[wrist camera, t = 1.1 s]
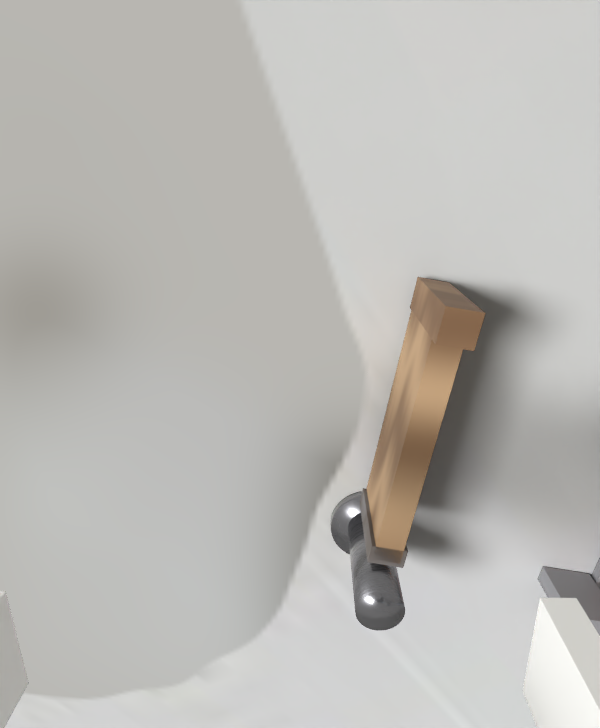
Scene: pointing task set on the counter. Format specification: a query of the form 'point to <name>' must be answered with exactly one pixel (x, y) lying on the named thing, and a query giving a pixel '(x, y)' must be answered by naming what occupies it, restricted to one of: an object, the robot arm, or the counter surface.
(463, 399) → the counter surface
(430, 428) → the gate
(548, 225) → the counter surface
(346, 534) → the hinge post
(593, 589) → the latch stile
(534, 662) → the robot arm
